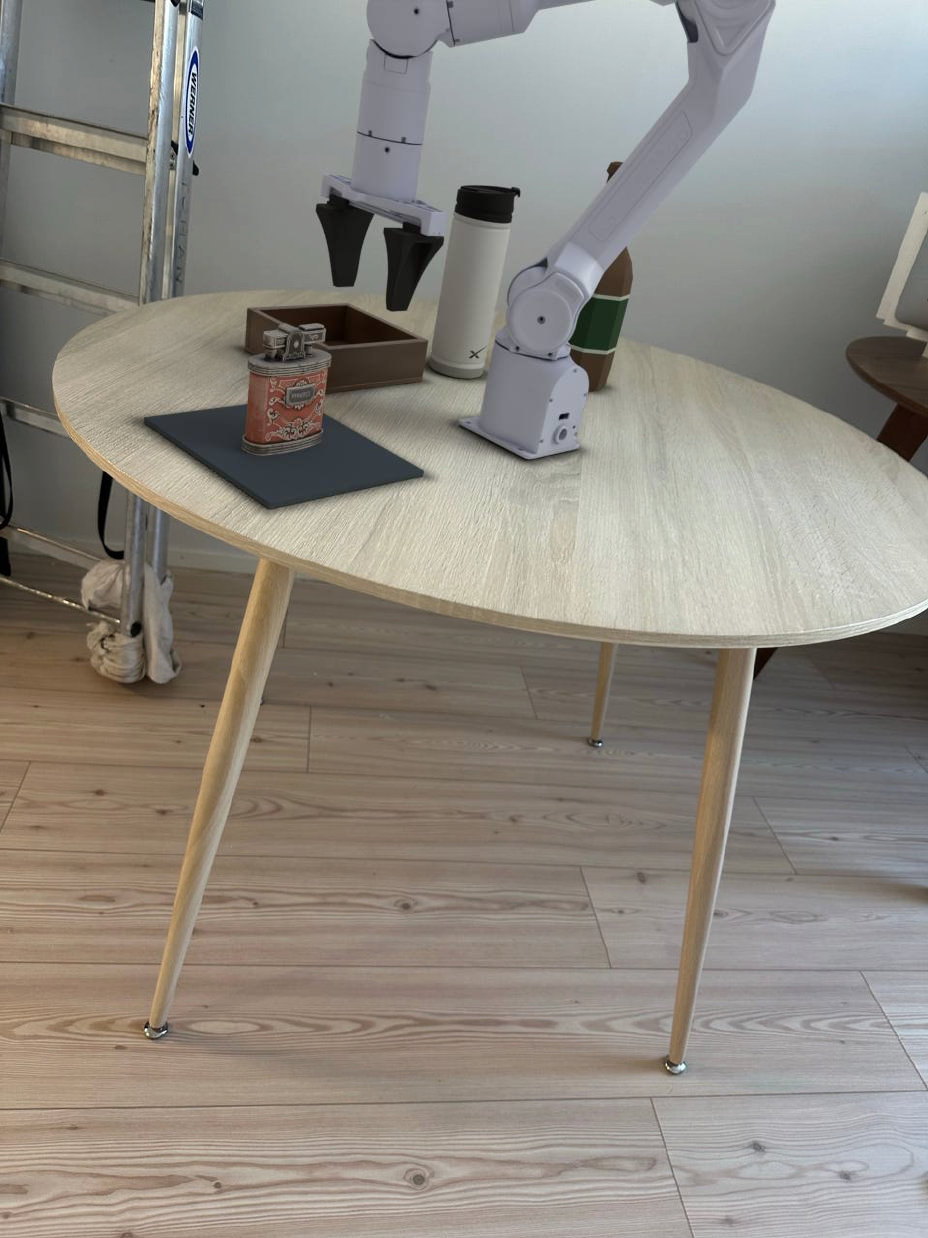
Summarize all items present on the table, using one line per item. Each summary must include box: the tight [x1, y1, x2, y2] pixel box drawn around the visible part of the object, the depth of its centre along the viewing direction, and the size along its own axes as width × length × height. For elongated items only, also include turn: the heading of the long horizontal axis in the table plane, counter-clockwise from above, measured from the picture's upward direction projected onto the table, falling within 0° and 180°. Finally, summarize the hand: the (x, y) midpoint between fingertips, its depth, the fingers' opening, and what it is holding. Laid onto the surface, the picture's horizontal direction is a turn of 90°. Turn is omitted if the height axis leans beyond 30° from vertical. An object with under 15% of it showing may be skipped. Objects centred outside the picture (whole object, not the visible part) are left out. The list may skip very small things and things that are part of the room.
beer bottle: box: [568, 160, 634, 392], centre depth 112 cm, size 8×8×24 cm
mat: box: [143, 403, 425, 510], centre depth 84 cm, size 18×16×1 cm
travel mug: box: [428, 184, 521, 380], centre depth 108 cm, size 6×7×20 cm
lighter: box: [242, 323, 331, 455], centre depth 81 cm, size 8×3×10 cm, turn 141°
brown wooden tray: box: [243, 302, 429, 394], centre depth 105 cm, size 14×14×4 cm
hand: (369, 297), depth 92 cm, fingers open, 7 cm apart
